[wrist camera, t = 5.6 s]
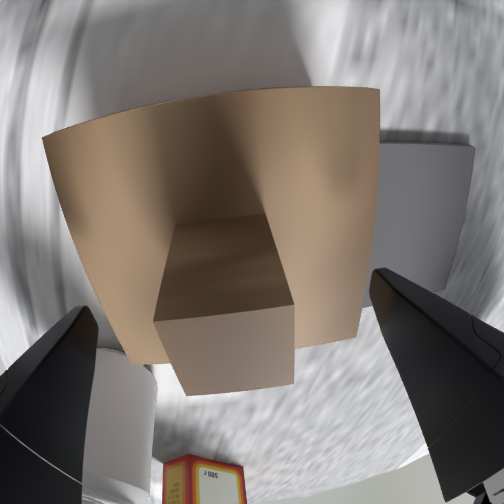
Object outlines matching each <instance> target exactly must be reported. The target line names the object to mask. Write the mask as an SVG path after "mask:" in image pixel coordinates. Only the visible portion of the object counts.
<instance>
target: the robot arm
mask: <svg viewBox="0 0 504 504" xmlns="http://www.w3.org/2000/svg"><path fill="white" fill-rule="evenodd" d="M369 296H370V299H371V302H372V305H373V308H374V311H375V314H376V317H377V320H378V323H379V326H380V329H381V332H382V335H383V337H384V340H385V342H386V344H387V347H388V349H389V351H390V353H391V356H392V358H393V360H394V363H395V365H396V367H397V370H398V372H399V374H400V377H401V379H402V381H403V384H404V386H405V389H406V391H407V394H408V396H409V399H410V401H411V404H412V406H413V409H414V411H415V414H416V417H417V419H418V422H419V425H420V427H421V430H422V433H423V436H424V438H425V441H426V444H427V447H429V448H428V450H429V453H430V456H431V459H432V462H433V465H434V468H435V471H436V474H437V477H438V480H439V484H440V487H441V490H442V494H443V497H444V500H445V502H448V501H450V500H452V499H454V498H456V497H458V496H460V495H461V494H463V493H465V492H467V493H468V494H470V495H472V496H474V497H476V498H475V501H474V504H504V333H503V332H502V331H500V330H498V329H496V328H494V327H492V326H490V325H488V324H487V323H485V322H483V321H481V320H480V319H478V318H476V317H475V316H473V315H470V314H469V313H468V312H466V311H464V310H462V309H461V308H459V307H457V306H455V305H454V304H452V303H450V302H448V301H446V300H445V299H443V298H441V297H439V296H438V295H436V294H434V293H432V292H430V291H429V290H427V289H425V288H423V287H421V286H419V285H418V284H416V283H414V282H412V281H410V280H408V279H407V278H405V277H403V276H401V275H399V274H397V273H395V272H393V271H392V270H390V269H388V268H385V267H383V268H377V269H374V270H373V271H372V275H371V281H370V287H369ZM98 331H99V330H98V324H97V322H96V320H95V318H94V316H93V314H92V312H91V311H90V309H89V307H88V306H85V305H84V306H76V307H75V308H73V309H72V310H71V311H70V312H69V313H68V314H67V315H65V316H64V317H63V318H62V319H61V320H60V321H59V322H57V323H56V324H55V325H54V326H53V327H52V328H51V329H50V330H49V331H47V332H46V333H45V334H44V335H43V336H42V337H41V338H40V339H39V340H38V341H36V342H35V343H34V344H33V345H32V346H31V347H30V348H29V349H28V350H27V351H26V352H25V353H24V354H23V355H22V356H20V357H19V358H18V359H17V360H16V361H15V362H14V363H13V364H12V365H11V366H10V367H9V368H8V370H6V371H5V372H4V373H3V374H2V375H1V376H0V504H82V477H83V460H84V448H85V437H86V428H87V420H88V412H89V404H90V398H91V391H92V385H93V379H94V372H95V364H96V351H97V341H98Z"/></svg>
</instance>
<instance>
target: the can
mask: <svg viewBox="0 0 504 504" xmlns="http://www.w3.org/2000/svg"><path fill="white" fill-rule="evenodd" d="M157 391H158V387H157V381H156V379H155V378H154V376H153V374H152V373H151V372H150V371H149V370H147V369H146V367H145V366H144V365H132V363H131V362H130V360H129V358H128V356H127V355H126V353H124V352H121V351H118V350H115V349H109V348H97V351H96V364H95V372H94V379H93V385H92V391H91V398H90V404H89V412H88V420H87V428H86V437H85V448H84V460H83V477H82V504H140V503H142V502H143V501H144V500H146V499H147V498H148V497H150V478H151V460H152V445H153V432H154V421H155V410H156V401H157Z"/></svg>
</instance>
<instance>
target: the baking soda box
mask: <svg viewBox="0 0 504 504" xmlns="http://www.w3.org/2000/svg"><path fill="white" fill-rule="evenodd" d="M162 504H247V498H246V489H245V480H244V470H243V467H241V466H236V465H231V464H226V463H221V462H217V461H213V460H208V459H204V458H200V457H197V456H193V455H189V454H188V455H185V456H183V457H180V458H178V459H175V460H173V461H170V462H167V463H165V464H163V491H162Z"/></svg>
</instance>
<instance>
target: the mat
mask: <svg viewBox="0 0 504 504" xmlns="http://www.w3.org/2000/svg"><path fill="white" fill-rule="evenodd" d="M474 154H475V147H473V146H471V145H467V144H453V143H436V142H407V141H380V145H379V169H378V185H377V198H376V210H375V220H374V229H373V238H372V246H371V254H370V261H369V268H368V275H367V282H366V288H365V294H364V300H363V305H362V308H364V307H369V306H373V305H372V302H371V299H370V296H369V287H370V281H371V275H372V271H373V270H374V269H377V268H383V267H385V268H388V269H390V270H392V271H393V272H395V273H397V274H399V275H401V276H403V277H405V278H407V279H408V280H410V281H412V282H414V283H416V284H418V285H419V286H421V287H423V288H425V289H427V290H429V291H430V292H436V291H440V290H443V289H445V286H446V283H447V279H448V276H449V273H450V270H451V266H452V263H453V259H454V256H455V252H456V248H457V245H458V241H459V237H460V233H461V228H462V224H463V220H464V215H465V210H466V205H467V200H468V195H469V189H470V183H471V177H472V170H473V162H474Z"/></svg>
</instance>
